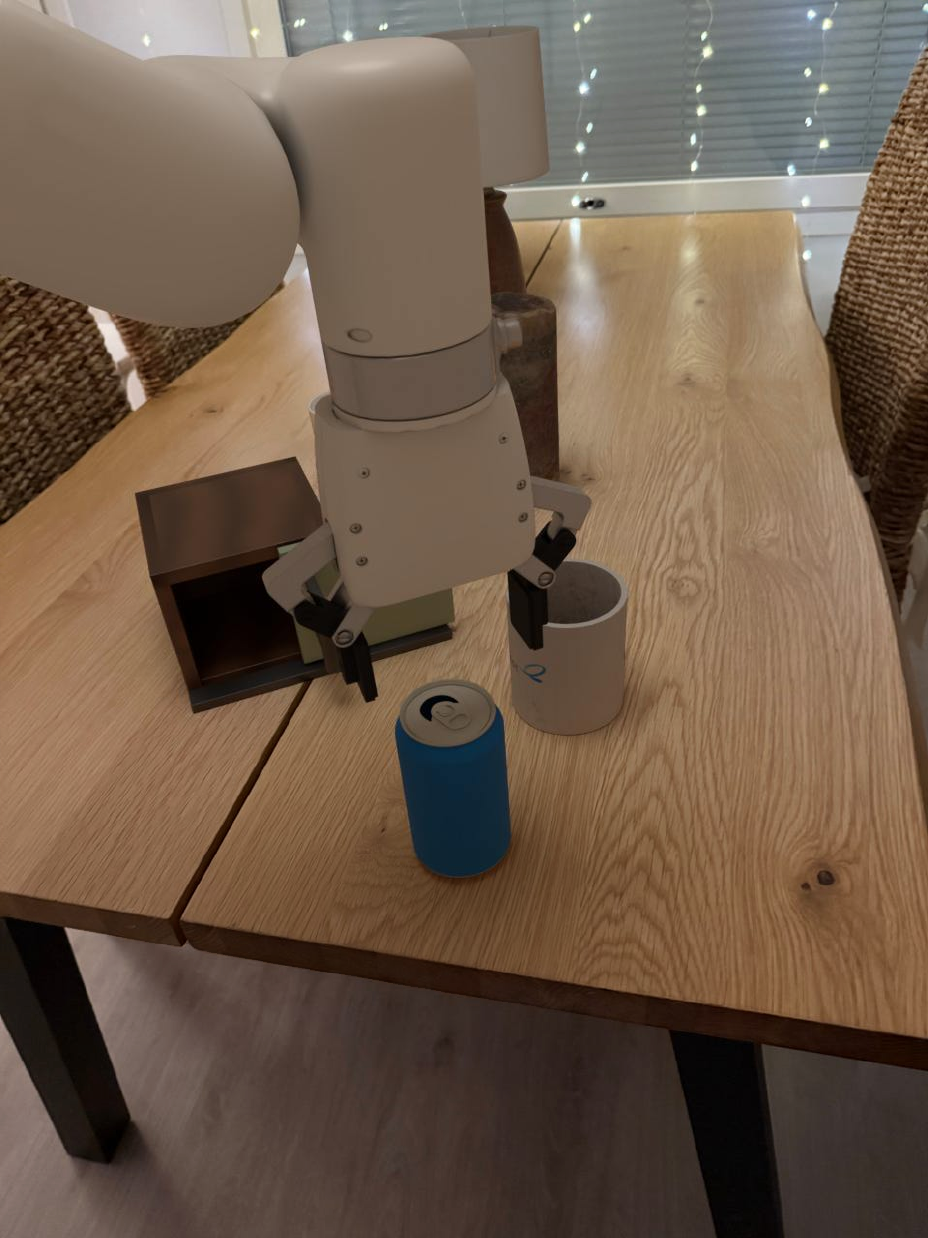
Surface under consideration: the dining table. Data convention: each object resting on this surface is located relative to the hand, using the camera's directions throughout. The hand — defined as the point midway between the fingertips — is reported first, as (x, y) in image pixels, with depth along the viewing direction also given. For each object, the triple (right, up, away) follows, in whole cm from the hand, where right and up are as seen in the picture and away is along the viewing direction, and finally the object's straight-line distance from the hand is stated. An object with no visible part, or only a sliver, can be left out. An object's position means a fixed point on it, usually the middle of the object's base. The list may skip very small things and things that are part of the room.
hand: (447, 660), depth 51 cm
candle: (+7, +16, +47) cm, 50 cm away
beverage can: (+1, -13, +9) cm, 16 cm away
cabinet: (-13, +2, +30) cm, 33 cm away
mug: (+9, -3, +22) cm, 24 cm away
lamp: (+5, +51, +94) cm, 108 cm away
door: (-5, -1, +24) cm, 24 cm away
